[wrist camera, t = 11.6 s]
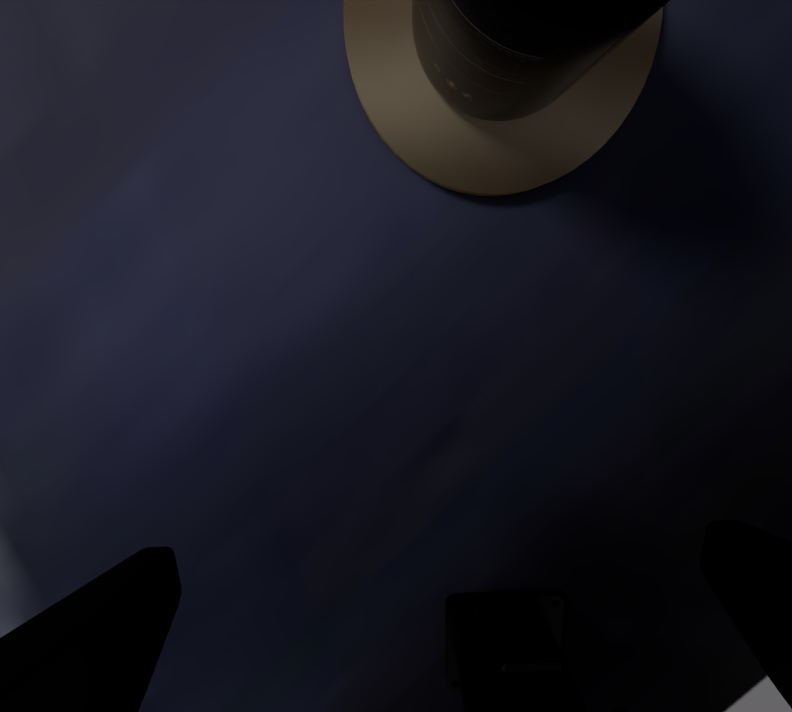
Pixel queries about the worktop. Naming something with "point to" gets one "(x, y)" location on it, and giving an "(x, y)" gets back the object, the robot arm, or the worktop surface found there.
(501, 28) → the supplement bottle
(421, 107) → the cork trivet
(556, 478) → the worktop surface
